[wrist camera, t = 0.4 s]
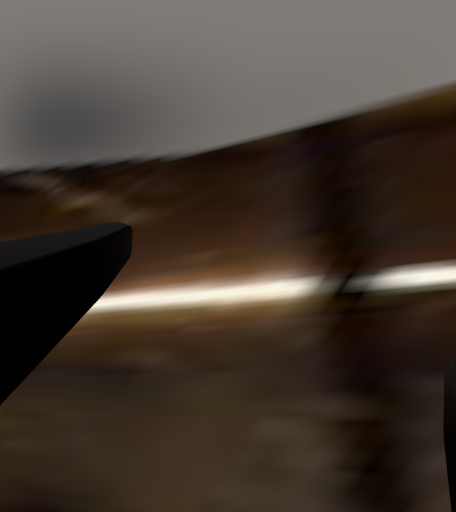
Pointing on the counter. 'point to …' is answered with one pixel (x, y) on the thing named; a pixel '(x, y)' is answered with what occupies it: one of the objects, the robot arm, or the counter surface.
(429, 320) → the counter surface
